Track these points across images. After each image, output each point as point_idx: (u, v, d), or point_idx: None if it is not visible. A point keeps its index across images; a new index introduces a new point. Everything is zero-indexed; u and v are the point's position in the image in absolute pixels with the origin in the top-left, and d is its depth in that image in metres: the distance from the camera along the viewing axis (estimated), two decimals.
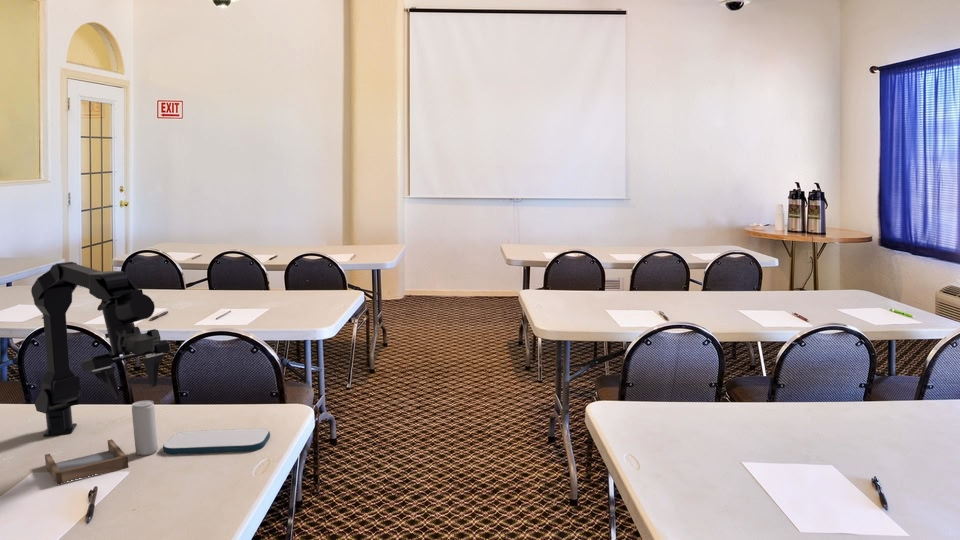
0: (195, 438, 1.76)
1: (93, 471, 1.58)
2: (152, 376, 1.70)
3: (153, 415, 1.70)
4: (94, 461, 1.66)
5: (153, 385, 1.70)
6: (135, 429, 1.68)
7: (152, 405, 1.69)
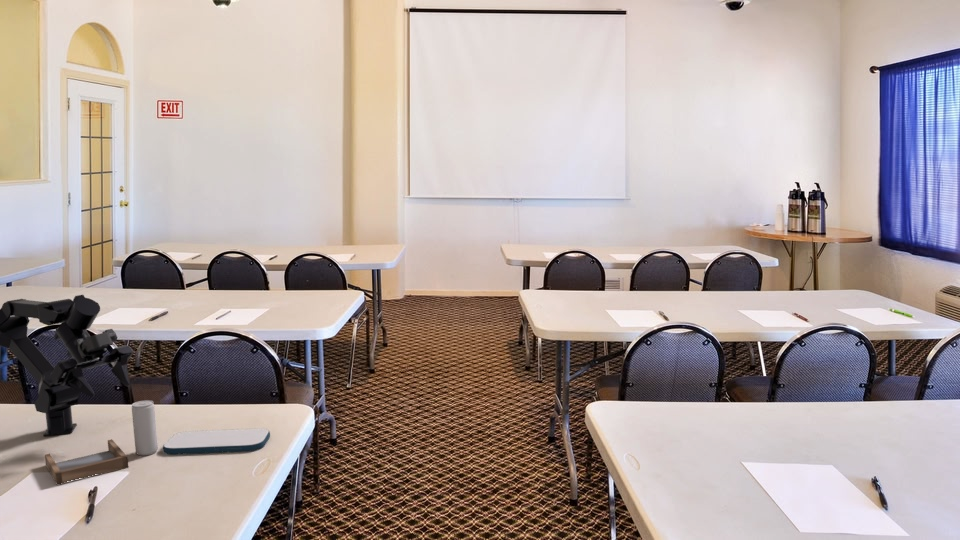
0: (195, 438, 1.76)
1: (93, 471, 1.58)
2: (123, 377, 1.79)
3: (153, 415, 1.70)
4: (94, 461, 1.66)
5: (127, 384, 1.78)
6: (135, 429, 1.68)
7: (152, 405, 1.69)
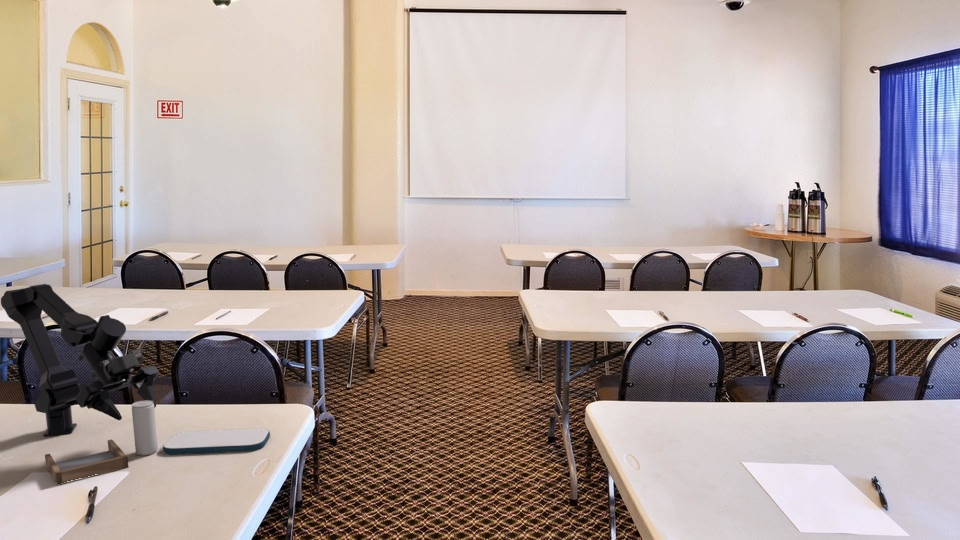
0: (195, 438, 1.76)
1: (93, 471, 1.58)
2: (149, 398, 1.75)
3: (153, 415, 1.70)
4: (94, 461, 1.66)
5: None
6: (135, 429, 1.68)
7: (152, 405, 1.69)
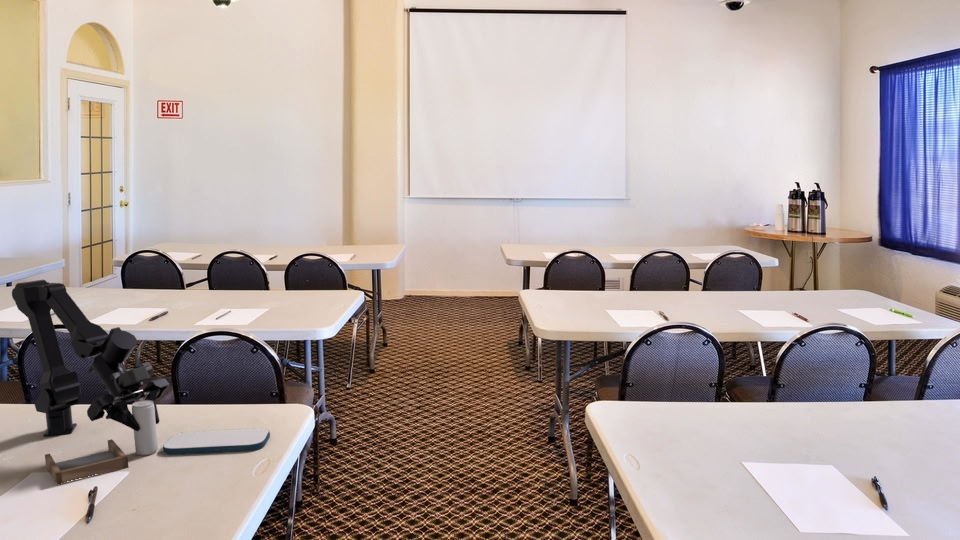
0: (195, 438, 1.75)
1: (93, 471, 1.58)
2: None
3: (153, 415, 1.70)
4: (94, 461, 1.66)
5: (156, 421, 1.72)
6: None
7: (152, 405, 1.69)
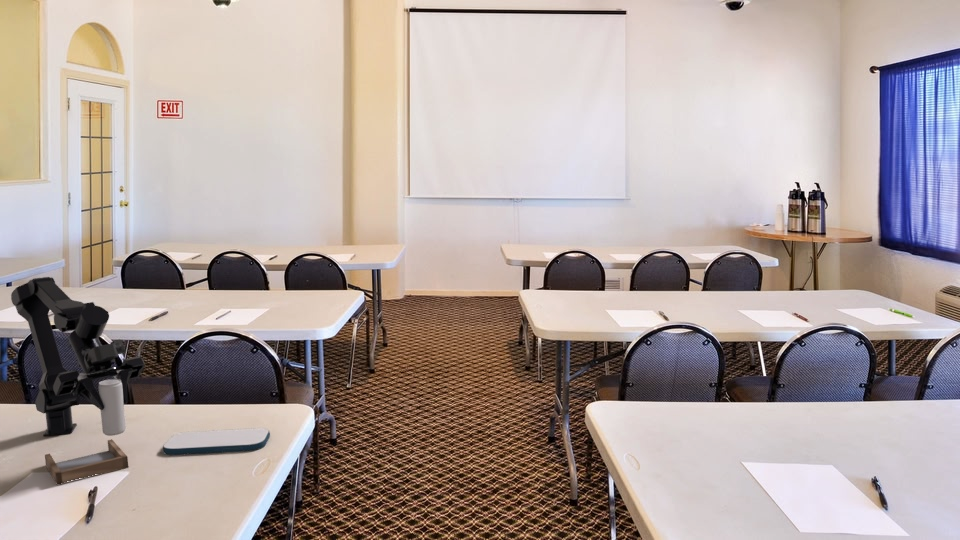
0: (195, 438, 1.75)
1: (93, 471, 1.58)
2: None
3: (119, 395, 1.64)
4: (94, 461, 1.66)
5: (124, 401, 1.66)
6: None
7: (118, 384, 1.64)
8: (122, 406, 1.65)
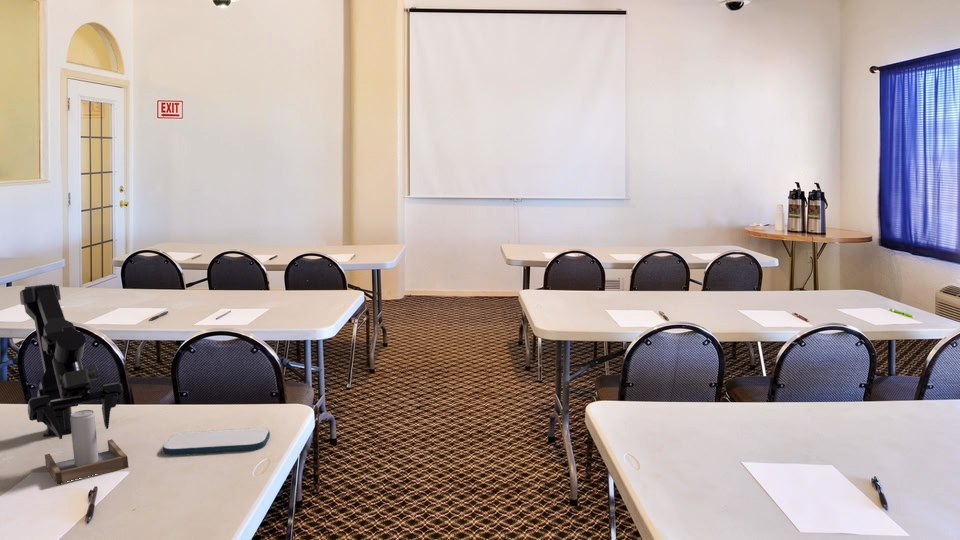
0: (195, 438, 1.75)
1: (93, 471, 1.58)
2: (104, 418, 1.65)
3: (90, 427, 1.61)
4: None
5: (106, 426, 1.64)
6: (72, 439, 1.62)
7: (89, 416, 1.61)
8: (93, 438, 1.62)
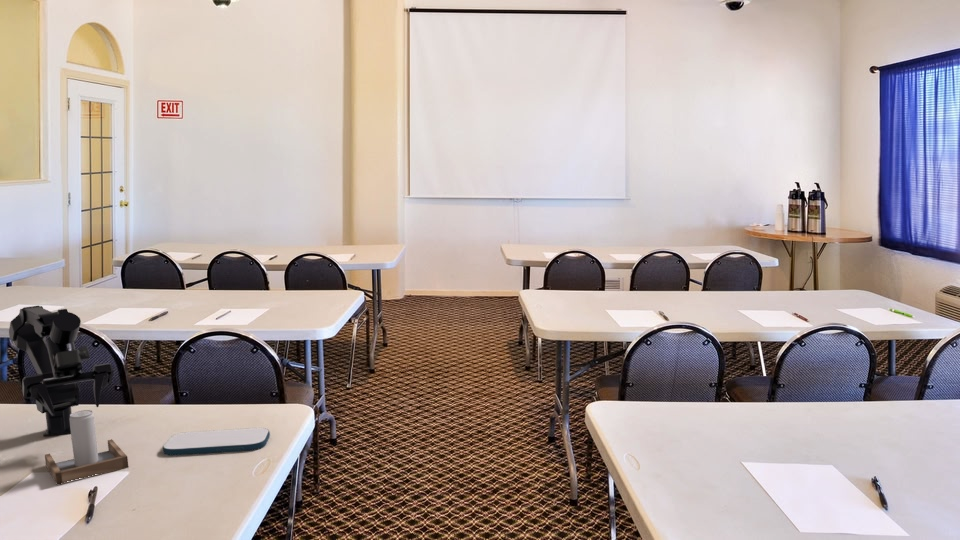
0: (195, 438, 1.75)
1: (93, 471, 1.58)
2: (95, 396, 1.73)
3: (89, 427, 1.61)
4: None
5: (96, 404, 1.72)
6: None
7: (88, 417, 1.61)
8: (93, 438, 1.62)
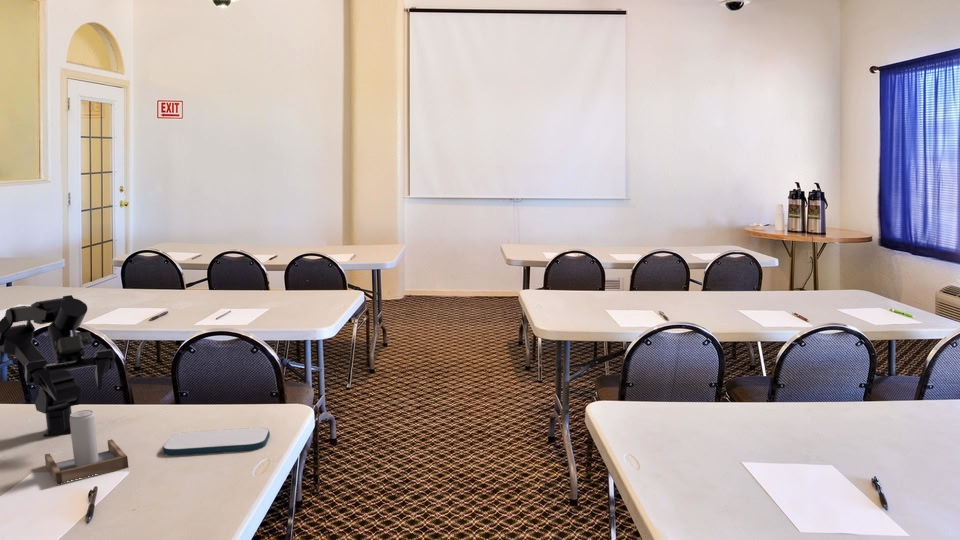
0: (195, 438, 1.75)
1: (93, 471, 1.58)
2: (97, 382, 1.75)
3: (89, 427, 1.61)
4: None
5: (98, 390, 1.74)
6: None
7: (88, 417, 1.61)
8: (93, 439, 1.62)
